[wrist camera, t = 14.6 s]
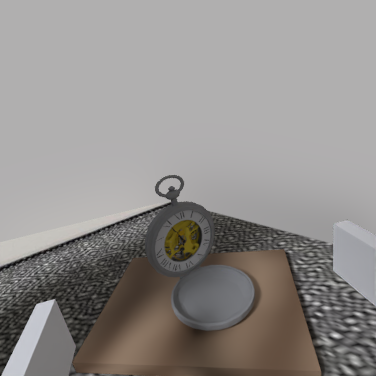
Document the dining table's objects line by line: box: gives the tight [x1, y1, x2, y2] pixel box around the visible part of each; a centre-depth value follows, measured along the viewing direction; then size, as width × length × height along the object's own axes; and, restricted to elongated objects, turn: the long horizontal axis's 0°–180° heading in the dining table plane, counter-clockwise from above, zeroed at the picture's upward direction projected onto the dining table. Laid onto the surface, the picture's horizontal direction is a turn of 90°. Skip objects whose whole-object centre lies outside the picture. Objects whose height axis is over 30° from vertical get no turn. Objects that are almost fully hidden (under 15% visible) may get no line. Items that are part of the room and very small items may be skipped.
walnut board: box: [72, 249, 321, 376], centre depth 22 cm, size 16×12×1 cm
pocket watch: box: [145, 175, 255, 331], centre depth 21 cm, size 8×8×10 cm
